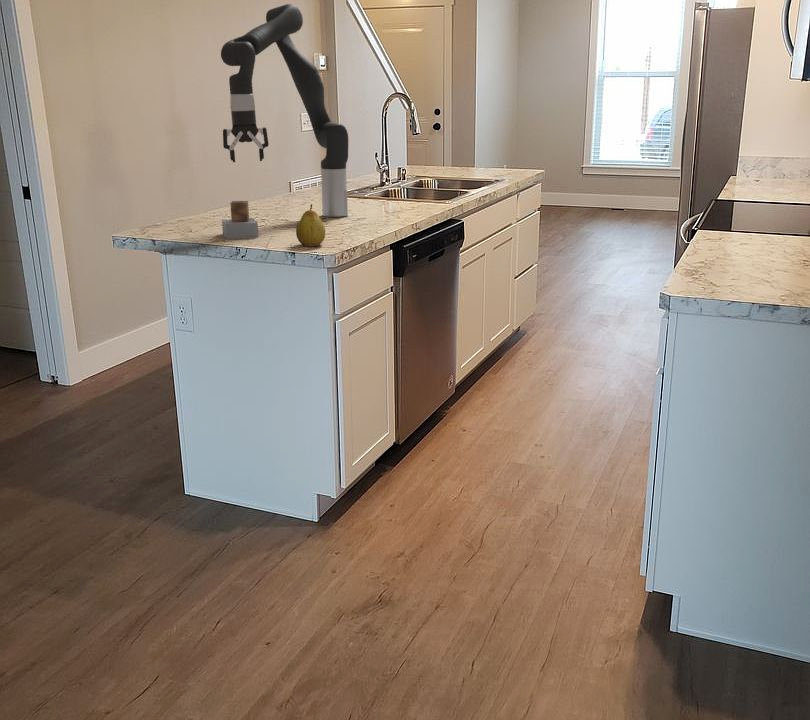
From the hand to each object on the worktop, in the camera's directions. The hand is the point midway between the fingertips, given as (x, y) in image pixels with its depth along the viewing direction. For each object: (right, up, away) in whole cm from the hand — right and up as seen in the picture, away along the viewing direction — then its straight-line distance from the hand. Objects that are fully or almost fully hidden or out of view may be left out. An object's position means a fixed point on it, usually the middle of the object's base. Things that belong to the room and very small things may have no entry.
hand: (247, 161), depth 271 cm
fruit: (+23, -30, -17) cm, 41 cm away
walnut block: (-2, -19, -1) cm, 19 cm away
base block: (-2, -24, 0) cm, 24 cm away
